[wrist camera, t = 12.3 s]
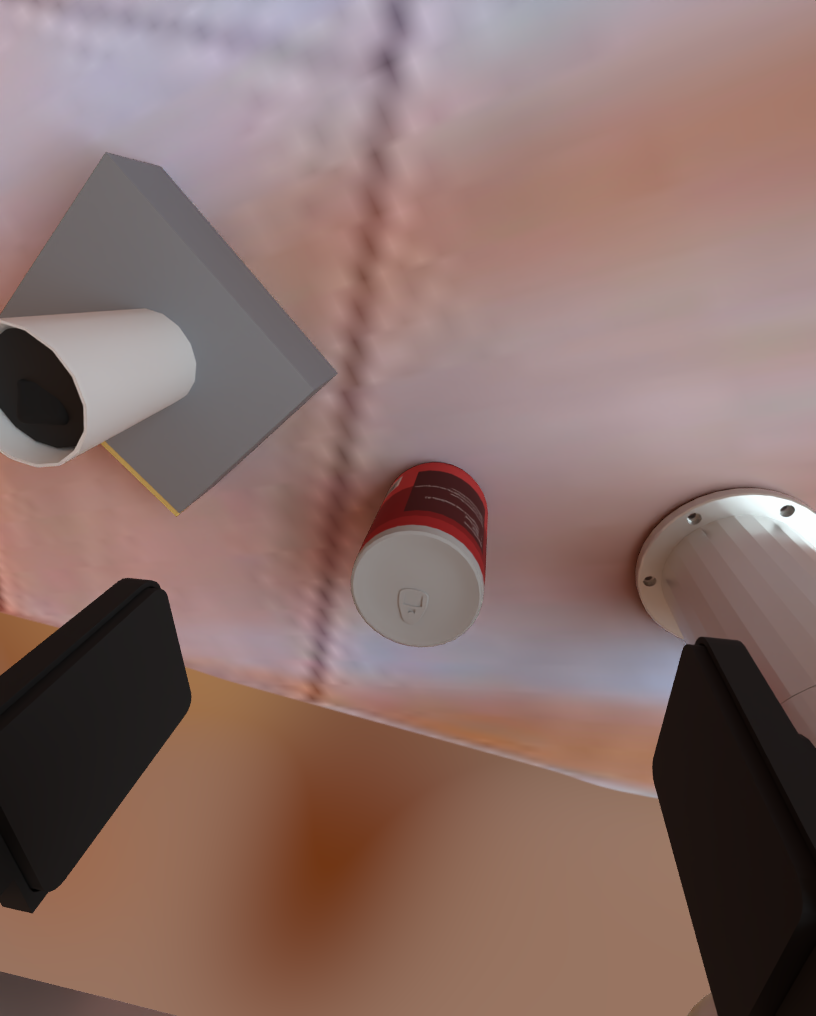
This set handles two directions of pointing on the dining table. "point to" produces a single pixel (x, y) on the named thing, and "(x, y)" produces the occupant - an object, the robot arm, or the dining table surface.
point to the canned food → (424, 558)
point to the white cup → (85, 379)
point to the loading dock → (189, 304)
